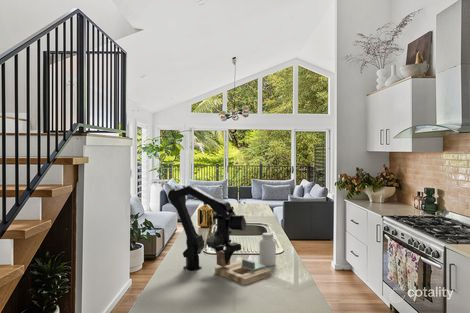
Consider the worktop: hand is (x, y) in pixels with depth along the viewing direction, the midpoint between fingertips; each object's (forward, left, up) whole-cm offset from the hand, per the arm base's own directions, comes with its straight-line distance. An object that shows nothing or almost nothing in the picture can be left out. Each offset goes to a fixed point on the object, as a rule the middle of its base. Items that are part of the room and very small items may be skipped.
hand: (223, 262), depth 167 cm
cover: (+9, +10, -2) cm, 14 cm away
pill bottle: (+5, +24, -5) cm, 25 cm away
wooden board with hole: (+7, +5, -4) cm, 10 cm away
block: (0, 0, -1) cm, 1 cm away
